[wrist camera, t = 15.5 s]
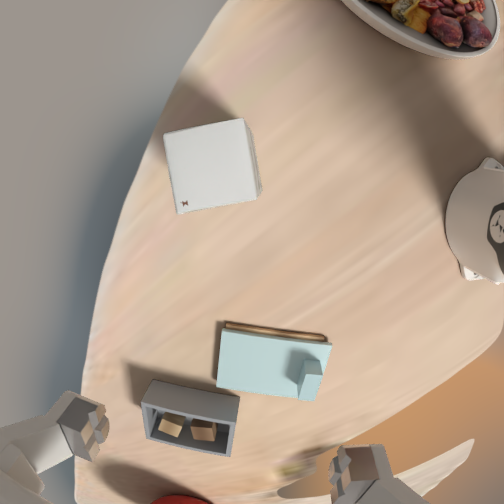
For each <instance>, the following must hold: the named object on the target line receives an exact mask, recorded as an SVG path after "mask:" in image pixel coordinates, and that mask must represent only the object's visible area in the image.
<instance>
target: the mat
mask: <svg viewBox="0 0 504 504" xmlns="http://www.w3.org/2000/svg"><path fill="white" fill-rule="evenodd" d="M226 329H230V330H236V331H243V332H249V333H256V334H263V335H270V336H277V337H285V338H293V339H301V340H310V341H319V342H324V338H325V337H324V336H322V335H313V334H304V333H296V332H288V331H280V330H273V329H266V328H259V327H252V326H246V325H239V324H233V323H226Z"/></svg>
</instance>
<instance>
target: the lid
mask: <svg viewBox="0 0 504 504" xmlns="http://www.w3.org/2000/svg"><path fill="white" fill-rule="evenodd" d="M331 348H332V343H329V342H319V341H310V340H301V339H293V338H285V337H277V336H270V335H263V334H256V333H249V332H243V331H236V330H230V329H224V328H223V329H222V335H221V344H220V354H219V364H218V374H217V385H216V387H220V388H225V389H232V390H238V391H244V392H251V393H259V394H266V395H275V396H284V397H294V398H298V400H307V401H314V400H315V397H316V394H317V392H318V389H319V386H320V383H321V380H322V377H323V373H324V370H325V367H326V364H327V361H328V358H329V355H330V351H331Z"/></svg>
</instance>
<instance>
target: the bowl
mask: <svg viewBox="0 0 504 504" xmlns="http://www.w3.org/2000/svg"><path fill="white" fill-rule="evenodd" d="M341 1H342V2H343V3H344V4H345V5H346V6H347V7H348V8H349V9H350V10H351V11H352V12H354V13H355V14H356V15H357V16H358V17H359V18H361V19H362V20H363V21H365V22H366V23H367V24H369V25H370V26H371V27H373V28H374V29H376V30H377V31H379V32H380V33H382V34H384V35H385V36H387V37H389V38H390V39H392V40H394V41H396V42H398V43H400V44H402V45H404V46H406V47H408V48H411V49H413V50H415V51H418V52H421V53H424V54H427V55H430V56H434V57H438V58H443V59H453V60H462V59H470V58H474V57H477V56H480V55H482V54H484V53H486V52H487V51H489V50H490V49H491V48H492V47H493V46H494V45H495V43H496V41H497V39H498V36H499V32H500V17H499V11H498V8H497V4H496V2H495V0H341Z"/></svg>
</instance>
